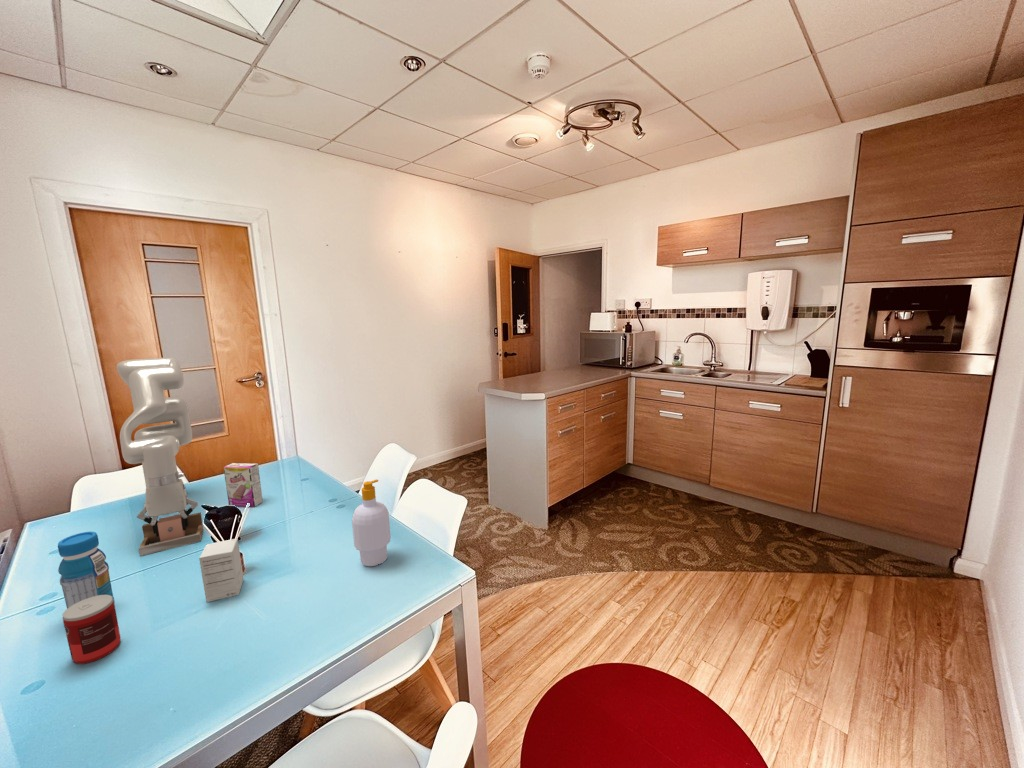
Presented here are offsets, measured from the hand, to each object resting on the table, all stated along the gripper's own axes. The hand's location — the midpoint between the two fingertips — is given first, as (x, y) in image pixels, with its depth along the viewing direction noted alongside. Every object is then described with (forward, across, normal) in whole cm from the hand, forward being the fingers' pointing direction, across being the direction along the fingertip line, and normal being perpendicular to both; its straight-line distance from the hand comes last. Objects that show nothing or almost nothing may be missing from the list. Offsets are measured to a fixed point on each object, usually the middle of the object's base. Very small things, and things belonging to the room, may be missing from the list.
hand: (171, 531), depth 136 cm
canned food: (+4, +7, +49) cm, 50 cm away
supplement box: (+4, -16, +40) cm, 44 cm away
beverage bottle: (+4, +12, +31) cm, 34 cm away
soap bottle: (+4, -53, +48) cm, 72 cm away
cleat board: (+4, 0, 0) cm, 4 cm away
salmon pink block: (+3, 0, -1) cm, 3 cm away
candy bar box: (+4, -20, -20) cm, 28 cm away
